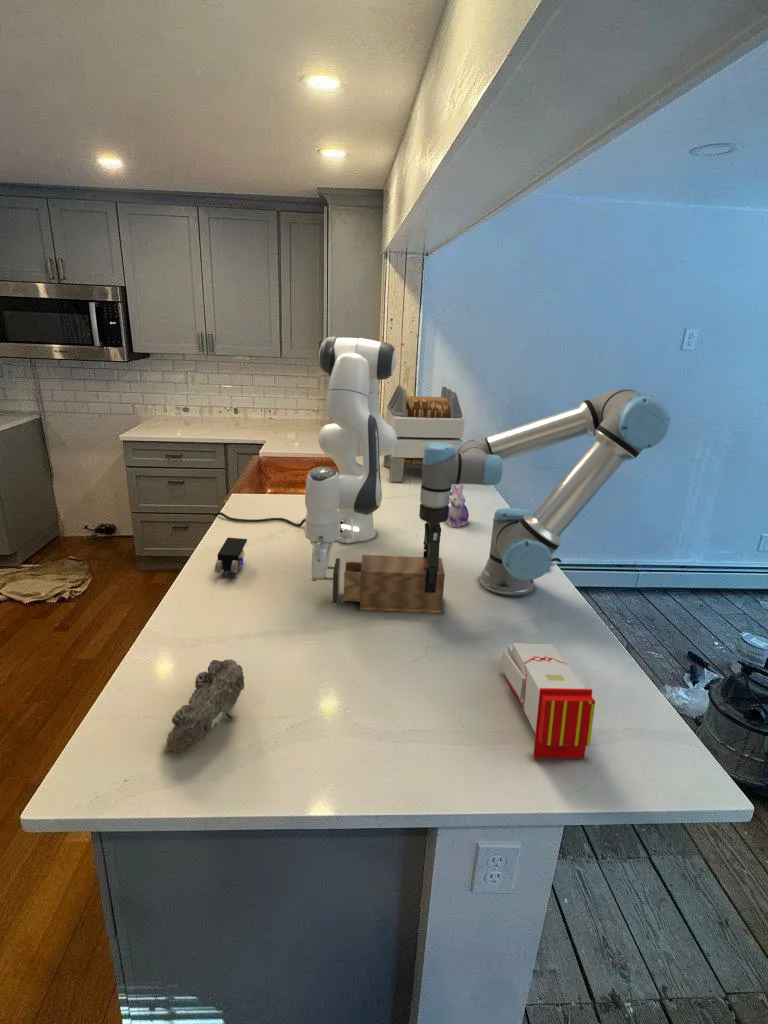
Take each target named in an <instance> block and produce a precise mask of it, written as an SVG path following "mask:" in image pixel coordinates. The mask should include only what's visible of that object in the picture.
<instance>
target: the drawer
mask: <svg viewBox="0 0 768 1024" xmlns="http://www.w3.org/2000/svg"><path fill="white" fill-rule="evenodd" d="M361 566H362V561H353V560H352V561H349V560H346V561H345V571H344V573H343V602H360V586H361ZM327 570H333V572H332V577H330V576H326V577H325V578H313V577H312V576H311V578H310V579H311V581H312V582H317V581H320V580H324V581H332V605H338V602H339V596H340V589H341V558H340V557H336V558H335V561H334V565H333V566H331V565H328V569H327Z"/></svg>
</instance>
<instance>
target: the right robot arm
mask: <svg viewBox="0 0 768 1024" xmlns="http://www.w3.org/2000/svg"><path fill="white" fill-rule="evenodd" d="M670 418H671V417H670V412H669V409H668V408H667V407H666V405H665V404H664V403H663V402H661V400H659V399H658V398H656V397H654V396H652V395H650V394H646V393H645V394H644V393H641V392H638V391H636V390H634V389H630V388H620V389H616V390H612V391H609V392H605V393H602V394H600V395H596V396H594V397H590V398H588V399H585V400H581V401H580V402H579V404H578V406H576V407H573V408H571V409H567V410H564V411H561V412H558V413H555V414H552V415H550V416H549V415H548V416H546V417H543V418H540V419H536V420H534V421H531V422H528V423H525V424H522V425H519V426H516V427H513V428H511V429H507V430H503V431H502V432H498V433H495V434H492V435H489V436H486V437H483V438H480V439H476V440H475V439H466V440H462V441H463V442H462V443H461V444H460V445H459V446H458V449H457V453H455V448H454V446H453V445H451V444H447V443H430V444H428V445H427V446H426V447H425V450H424V458H423V466H422V467H421V468H422V469H421V486H420V495H419V502H420V504H419V515H418V516H419V518H420V520H422V521H424V522H425V523H424V537H423V538H424V539H423V542H422V543H423V556H422V557H428V567H427V568H425V570H426V582H425V592H426V593H435V591H436V580H437V572H438V570H439V568H438V565H439V558H440V545H441V544H440V543H441V536H442V527H441V523H445V522H447V520H448V518H449V507H450V504H451V502H450V499H451V496H452V495H453V493H452V485H453V484H463V485H464V484H465V485H480V486H481V485H482V486H497V485H499V484H500V482H501V481H502V476H503V462H505V461H507V460H511V459H514V458H516V457H517V458H518V457H520V456H523V455H526V454H529V453H533V452H535V451H539V450H541V449H542V450H543V449H545V448H548V447H551V446H554V445H557V444H561V443H564V442H567V441H570V440H573V439H577V438H580V437H582V436H589V437H591V438H592V437H595V438H594V441H592V443H591V444H590V446H589V447H588V448H587V449H586V450H585V451H584V452H583V454H582V455H581V457H580V458H579V459H578V460H577V461H576V462H575V463H574V465H573V466H572V467H571V468H570V469H569V471H568V472H567V473H566V474H565V476H564V477H563V478H562V479H561V480H560V482H559V483H558V484H557V485H556V487H555V488H554V489H553V490H552V491H551V492H550V493H549V495H548V496H547V497H546V498H545V500H544V501H543V502H542V503H541V504H540V505H539V507H538V508H537V509H536V510H535V512H534V511H532V510H529V509H525V508H517V507H503V508H499V509H497V510H496V511H494V515H493V518H492V529H491V539H490V548H489V557H488V559H487V561H486V563H485V565H484V568H483V570H482V572H481V574H480V579H479V582H480V585H481V586H482V587H483V588H485V589H486V590H487V591H489V592H490V593H493V594H496V595H499V596H504V597H522V596H526V595H529V594H530V593H532V592H533V590H534V584H535V581H534V580H537V579H539V578H541V577H542V576H544V575H546V573H548V572H549V570H550V568H551V566H552V563H553V562H558V563H562V560H561V558H559V557H553V555H554V553H555V552H556V550H557V549H558V548H559V547H560V546H561V536H562V534H563V533H564V532H565V531H566V529H568V528H569V526H570V525H571V524H572V523H573V521H574V520H575V519H576V518H577V517H578V516H579V515H580V513H581V512H582V511H583V510H584V509H585V507H587V505H588V504H589V503H590V502H591V500H592V499H594V497H595V496H596V495H597V494H598V493H599V492H600V490H601V489H602V487H603V486H605V484H606V483H607V482H608V481H609V480H610V478H612V476H613V475H614V474H615V473H616V472H617V470H618V469H619V468H620V467H621V466H622V464H623V463H625V462H626V461H631V460H635V459H636V458H638V456H639V455H641V453H642V452H643V450H645V449H646V450H647V449H649V448H650V449H651V448H653V447H656V446H658V445H659V444H660V443H661V442H662V441H663V440H664V439H665V438H666V436H667V434H668V432H669V429H670V426H671V425H670V424H671V421H670V420H671V419H670Z"/></svg>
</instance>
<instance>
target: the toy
mask: <svg viewBox="0 0 768 1024" xmlns="http://www.w3.org/2000/svg"><path fill="white" fill-rule="evenodd" d="M499 667H500V670H501V671H502V673H503V676H504V677H505V680H506V681H507V683H508V685H509V686H510V689H511V690H512V691H513V694H514V695H515V697H516V698H517V701H518V702H519V704H520V706H521V708H523V711H524V713H525V715H526V719H528V723H530V726H531V728H532V730H533V732H534V734H535V735H534V744H533V759H566V760H567V759H571V760H572V759H574V760H575V759H577V760H578V759H580V760H584V759H585V755H586V748H587V747H590V746H591V739H592V733H593V731H592V730H593V723H594V716H595V706H596V700H595V699H594V697H593V689H592V688H586V686H585V685H584V684H583V682H582V681H581V680H580V678H579V677H578V676H577V674H576V673H575V672H574V670H573V669H572V667H571V666H570V665H569V663H568V662H567V660H566V659H565V658H564V656H563V655H562V654H561V652H560V650H559V649H558V648H556V645H554V643H519V642H518V643H514V642H512V644H507V650H506V649H502V652H501V660H500V666H499Z"/></svg>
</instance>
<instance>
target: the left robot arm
mask: <svg viewBox="0 0 768 1024" xmlns="http://www.w3.org/2000/svg"><path fill="white" fill-rule="evenodd" d="M397 361H398V360H397V353H396V349H395V347H394V346H393V344H392V343H389V342H387V341H383V340H381V341H377V340H374V339H369V338H363V337H359V338H358V337H339V336H329V337H325V339H324V340H323V341H322V342H321V345H320V347H319V350H318V362H319V367H320V369H322V371H323V372H324V373H326V374H328V375H329V376H330V378H329V382H328V388H327V393H326V394H327V395H326V404H325V407H326V413H327V415H328V417H329V419H330V420H331V421H332V422H333V423H328V424H325V425H323V427H321V429H320V431H319V433H318V444H319V447H320V449H321V450H322V452H323V453H324V454H325V455H326V456H328V457H329V458H330V459H331V460H332V461H333V462H334V464H335V465H336V467H337V469H336V468H334V467H331V466H317V467H313V468H312V469H310V470H309V471H308V473H307V476H306V482H305V491H304V505H305V509H306V514H305V517H304V518H303V519H302V520H301V522H299V523H295V522H293V521H291V520H290V519H287V518H284V517H269V518H268V517H267V518H259V519H252V518H251V519H248V518H247V519H246V518H235V517H231V516H229V515H227V514H225V513H224V512H221V511H217V512H216V513H215V514H214V515H213V517H218V516H222V517H223V518H225V519H227V520H228V521H232V522H241V523H265V522H272V521H273V522H275V521H278V522H279V521H280V522H284V523H287V524H289V525H291V526H294V527H302V526H303V525H304V536H305V539H307V540H309V543H310V544H311V545H312V551H311V578H312V577H313V578H325V577H327V574H328V570H329V569H328V566H329V563H330V558H331V552H332V549H333V548H332V547H333V545H334V544H335V541H336V542H339V543H343V544H352V543H357V542H365V541H368V540H372V539H373V538H375V537H376V535H377V532H376V528H375V523H374V512H376V511H377V510H378V509H379V508H380V507H381V504H382V500H383V490H382V482H381V465H380V464H381V463H380V457H384V456H385V455H390V454H391V453H392V452H393V451H394V450H395V448H396V445H397V435H396V432H395V430H394V429H393V428H392V427H391V426H390V425H388V424H387V423H386V420H384V419H383V417H382V415H381V413H380V410H379V381H382V380H388V379H389V378H390V377H392V375H393V373H394V371H395V370H396V367H397ZM357 457H362V464H360V463H359V462H358V461H357V460H356V458H357ZM337 470H338V471H337ZM319 581H321V582H322V581H323V582H324V581H325V580H319Z"/></svg>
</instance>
